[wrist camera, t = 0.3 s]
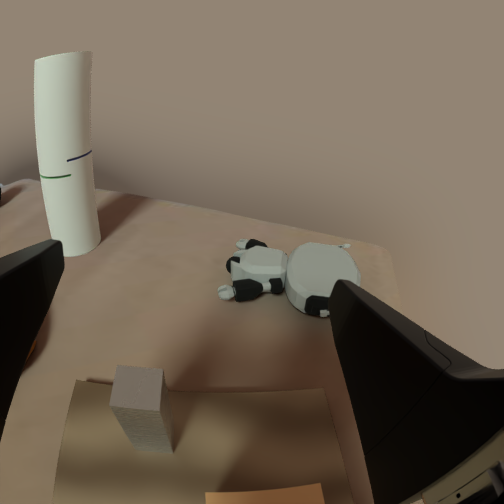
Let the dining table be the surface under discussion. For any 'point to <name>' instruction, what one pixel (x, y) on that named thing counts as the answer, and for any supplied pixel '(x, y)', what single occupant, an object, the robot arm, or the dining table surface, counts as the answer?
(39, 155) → the cylindrical container
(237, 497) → the orange rectangular block
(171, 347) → the dining table surface
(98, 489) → the base board
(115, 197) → the dining table surface
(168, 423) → the post
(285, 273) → the robot toy
